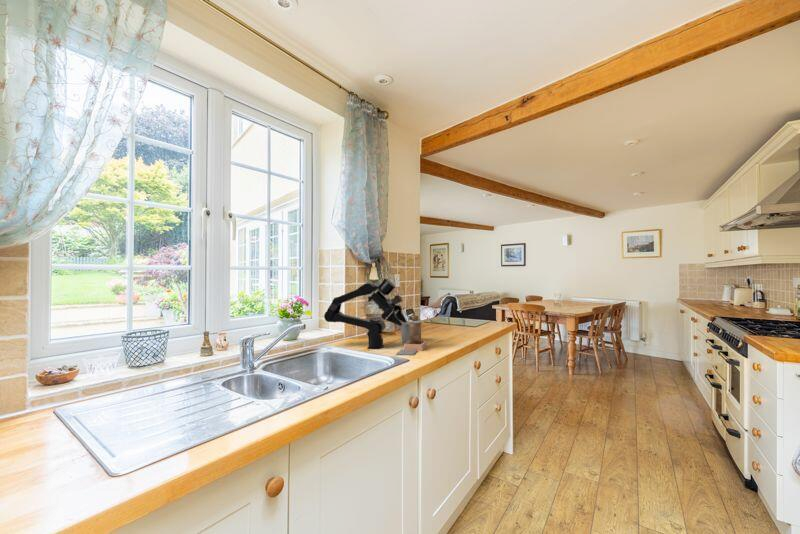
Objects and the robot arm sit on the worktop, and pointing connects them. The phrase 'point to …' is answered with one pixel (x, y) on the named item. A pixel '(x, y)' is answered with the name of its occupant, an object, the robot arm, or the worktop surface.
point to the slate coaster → (406, 352)
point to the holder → (415, 346)
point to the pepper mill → (415, 330)
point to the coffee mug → (405, 332)
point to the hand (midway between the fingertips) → (403, 323)
